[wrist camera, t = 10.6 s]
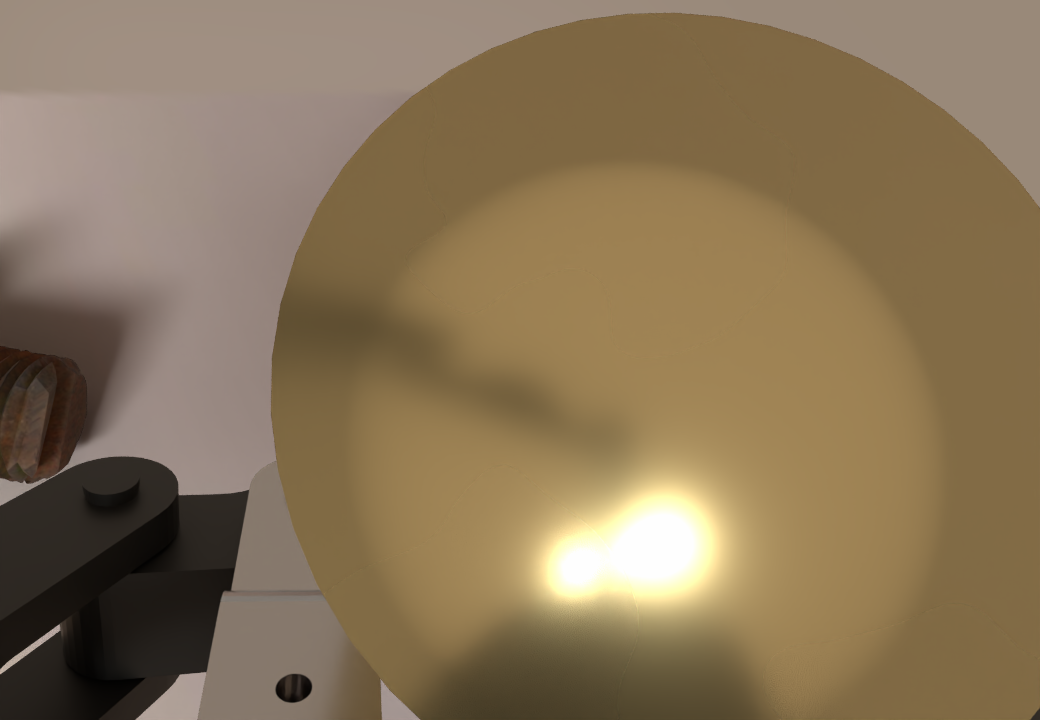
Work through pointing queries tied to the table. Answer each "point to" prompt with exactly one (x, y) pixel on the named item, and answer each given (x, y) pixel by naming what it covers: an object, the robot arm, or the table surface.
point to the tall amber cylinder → (672, 389)
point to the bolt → (38, 414)
